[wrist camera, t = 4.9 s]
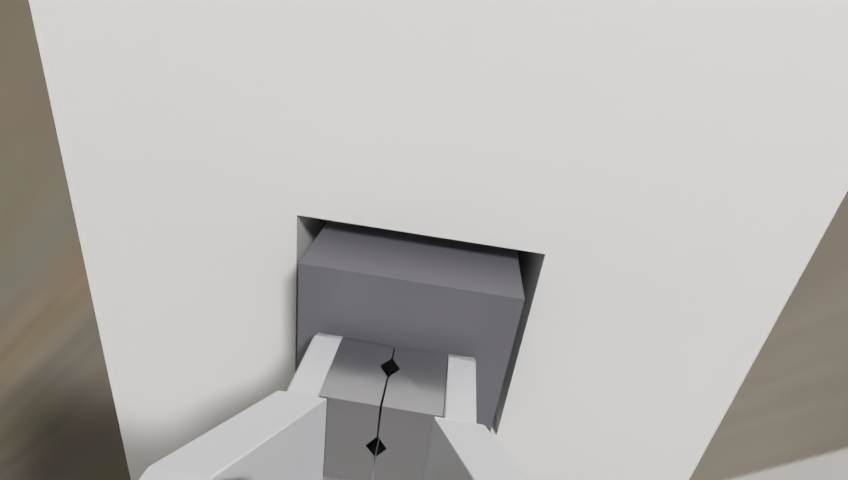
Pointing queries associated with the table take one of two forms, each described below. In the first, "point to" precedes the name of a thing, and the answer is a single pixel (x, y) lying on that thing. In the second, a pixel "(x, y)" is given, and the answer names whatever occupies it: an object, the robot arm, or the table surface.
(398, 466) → the robot arm
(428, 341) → the gray rectangular block
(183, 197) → the block
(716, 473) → the table surface
